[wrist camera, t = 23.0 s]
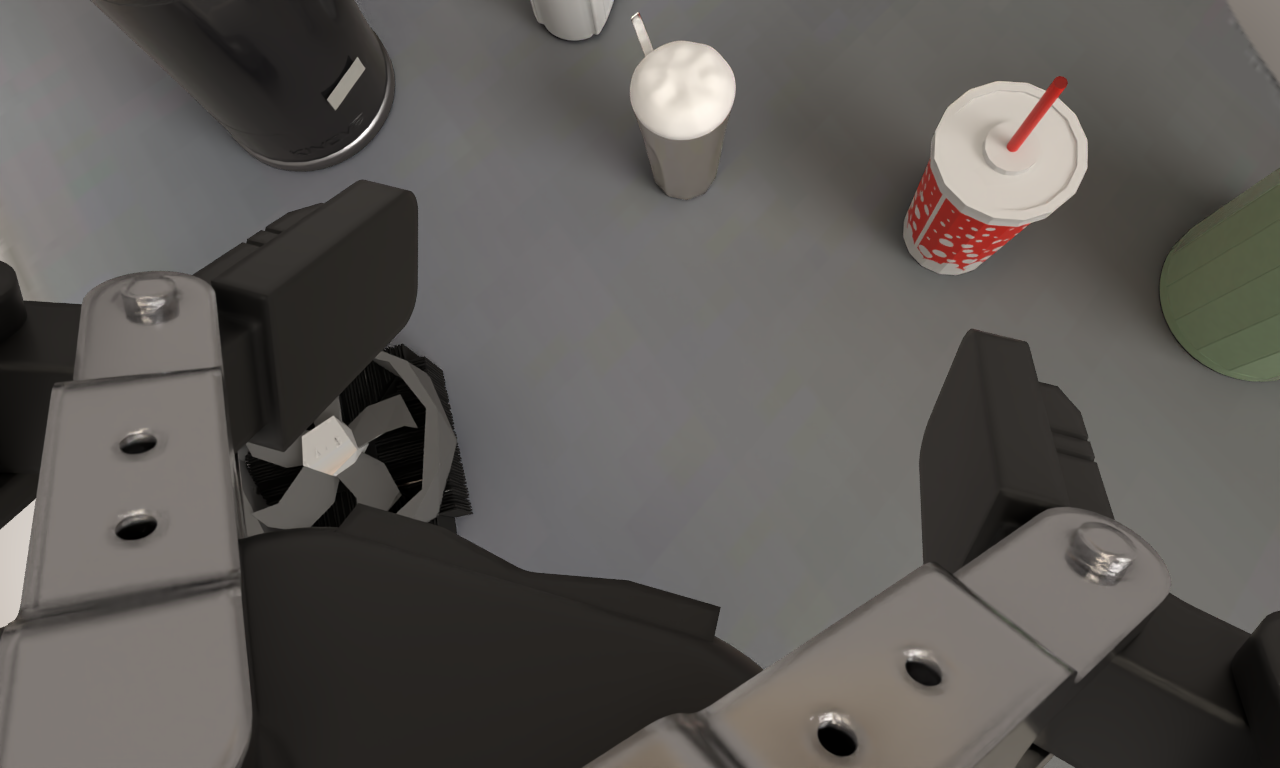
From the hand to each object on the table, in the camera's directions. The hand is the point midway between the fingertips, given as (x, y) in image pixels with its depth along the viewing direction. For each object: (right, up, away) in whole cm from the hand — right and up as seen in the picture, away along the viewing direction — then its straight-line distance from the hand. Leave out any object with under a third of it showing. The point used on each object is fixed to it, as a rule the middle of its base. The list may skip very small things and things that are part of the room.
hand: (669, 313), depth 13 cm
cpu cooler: (-14, -5, +31) cm, 35 cm away
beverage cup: (+15, +7, +32) cm, 36 cm away
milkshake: (+2, +10, +34) cm, 35 cm away
